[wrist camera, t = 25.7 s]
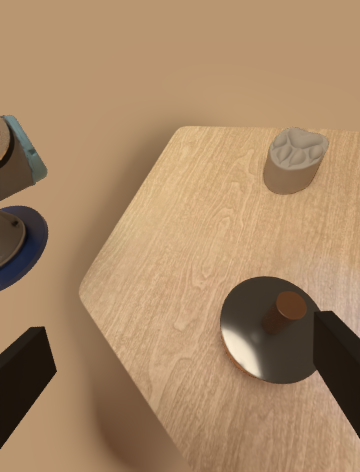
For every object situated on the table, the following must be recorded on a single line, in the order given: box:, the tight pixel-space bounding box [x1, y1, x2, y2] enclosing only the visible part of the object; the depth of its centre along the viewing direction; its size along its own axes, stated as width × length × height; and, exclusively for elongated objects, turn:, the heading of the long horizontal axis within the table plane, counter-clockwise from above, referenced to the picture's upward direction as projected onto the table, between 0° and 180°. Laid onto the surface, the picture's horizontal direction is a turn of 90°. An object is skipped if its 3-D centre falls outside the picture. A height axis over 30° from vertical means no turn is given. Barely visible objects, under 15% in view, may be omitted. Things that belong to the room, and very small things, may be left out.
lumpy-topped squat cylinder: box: [264, 127, 329, 194], centre depth 51 cm, size 10×13×9 cm
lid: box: [220, 276, 320, 384], centre depth 26 cm, size 13×13×10 cm
